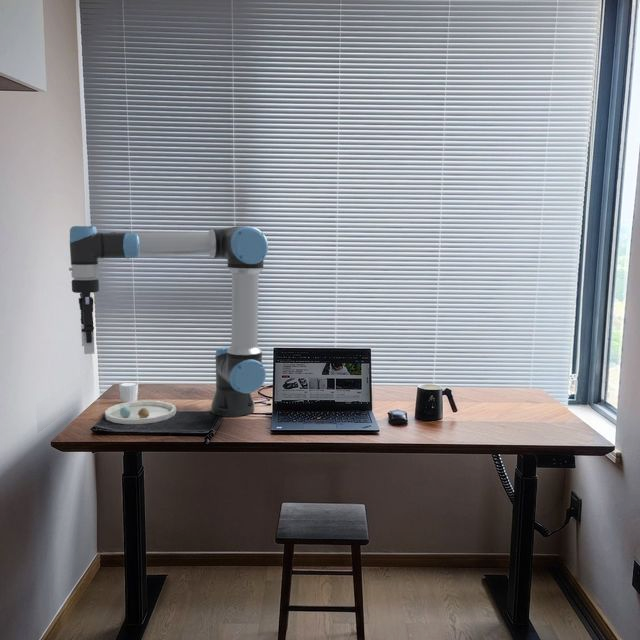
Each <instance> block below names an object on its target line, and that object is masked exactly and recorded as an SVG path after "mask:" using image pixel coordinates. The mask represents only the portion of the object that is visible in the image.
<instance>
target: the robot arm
mask: <svg viewBox="0 0 640 640" xmlns="http://www.w3.org/2000/svg"><path fill="white" fill-rule="evenodd" d="M97 229H98V228H97V227H96V226H95V225H93V226H91V225H89V226H88V225H74V226H71V227H70V228H69V253H70V266H71V267H69V268H68V271H69V272H71V278H72V280H71V291H72V292H73V293H76V294H79V297H78V305H79V310H80V326H81V327H80V328H81V332H80V333H81V347H83V350H84V351H83V352H84V353H83V355H90V354H91V355H92V354H95V336H94V330H95V326H94V315H93V312H94V297H92V296H91V293H92V294H93V293H98V292H99V291H100V286H99V284H100V283H99V279H97V278H99V276H100V275H99V273H100V271H99V261H98V260H99V259H137V258H138V257H157V256H158V257H161V256H162V257H167V256H172V257H174V256H175V257H177V256H182V257H183V256H209V257H210V258H211V259H223V260H224V259H225V260H227V265H226V266H227V269H228V270H229V272H230V273H231V335H230V336H231V343H230V344H231V346H222V347H217V349H216V350H215V357H214V358H215V387H216V388H215V392H214V396H213V399H212V402H211V407H210V408H211V413H212V414H214V413H216V414H220V415H221V416H222V417H242V416H246V415H250V414H252V413H254V411H255V403H254V400H253V396H252V393H255V392H257V391H258V390H259V389H260V388H261V387H262V386H263V385H264V383H265V382H266V377H267V373H266V372H267V371H266V369H265V366H264V365H263V350H262V349H261V348H260V346H259V345H258V338H259V337H258V333H259V332H258V331H259V327H258V326H259V282H260V281H259V279H260V278H259V277H260V276H259V275H260V273H261V272H262V271H263V270H264V259H265V257H266V256H267V255H268V252H269V251H268V250H269V242H268V239H267V237H266V235H265V234H264V232H262V231H261V230H260V229H258V228H256V227H253V226H249V225H244V226H243V225H242V226H232V227H228V228H227V227H226V228H220V229H213V228H212V229H209V231H207V232H111V231H110V232H104V233H103V232H98V230H97ZM216 414H215V415H216ZM220 415H219V416H220Z"/></svg>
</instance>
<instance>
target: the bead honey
mask: <svg viewBox="0 0 640 640" xmlns="http://www.w3.org/2000/svg"><path fill="white" fill-rule="evenodd" d="M138 415H139V417H140V418H147V417H148V416H149V411H148V409H146V408H142V409H140V410H139V412H138Z"/></svg>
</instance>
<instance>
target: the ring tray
mask: <svg viewBox="0 0 640 640" xmlns="http://www.w3.org/2000/svg"><path fill="white" fill-rule="evenodd" d="M123 407H128V408H129V409H130V410H131V414H130V415H129V416H128V417H122V416H121V415H120V410H121V409H122V408H123ZM142 408H146V409H148V411H149V416H148V417H147V418H140V417H139V415H138V412H139V410H140V409H142ZM176 413H177V407H176V406H175V405H174V404H173V403H170V402H167V401H162V400H160V401H158V400H137V401H133V402H121V403H118V404H114V405H112V406H109V407H108V408H107V409H106V410H105V411H104V418H105V420H106V421H108V422H112V423H114V424H123V425H144V424H145V425H146V424H152V423H158V422H163V421H166V420H168V419H170V418H173V417H175V414H176Z"/></svg>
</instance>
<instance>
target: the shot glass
mask: <svg viewBox="0 0 640 640" xmlns="http://www.w3.org/2000/svg"><path fill="white" fill-rule="evenodd" d="M118 390H119V396H120V402H121V403H126V402H134V401H138V393H139V392H138V391H139V383H138V382H134V381H133V382H132V381H130V382H123V383H119V384H118Z"/></svg>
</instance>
